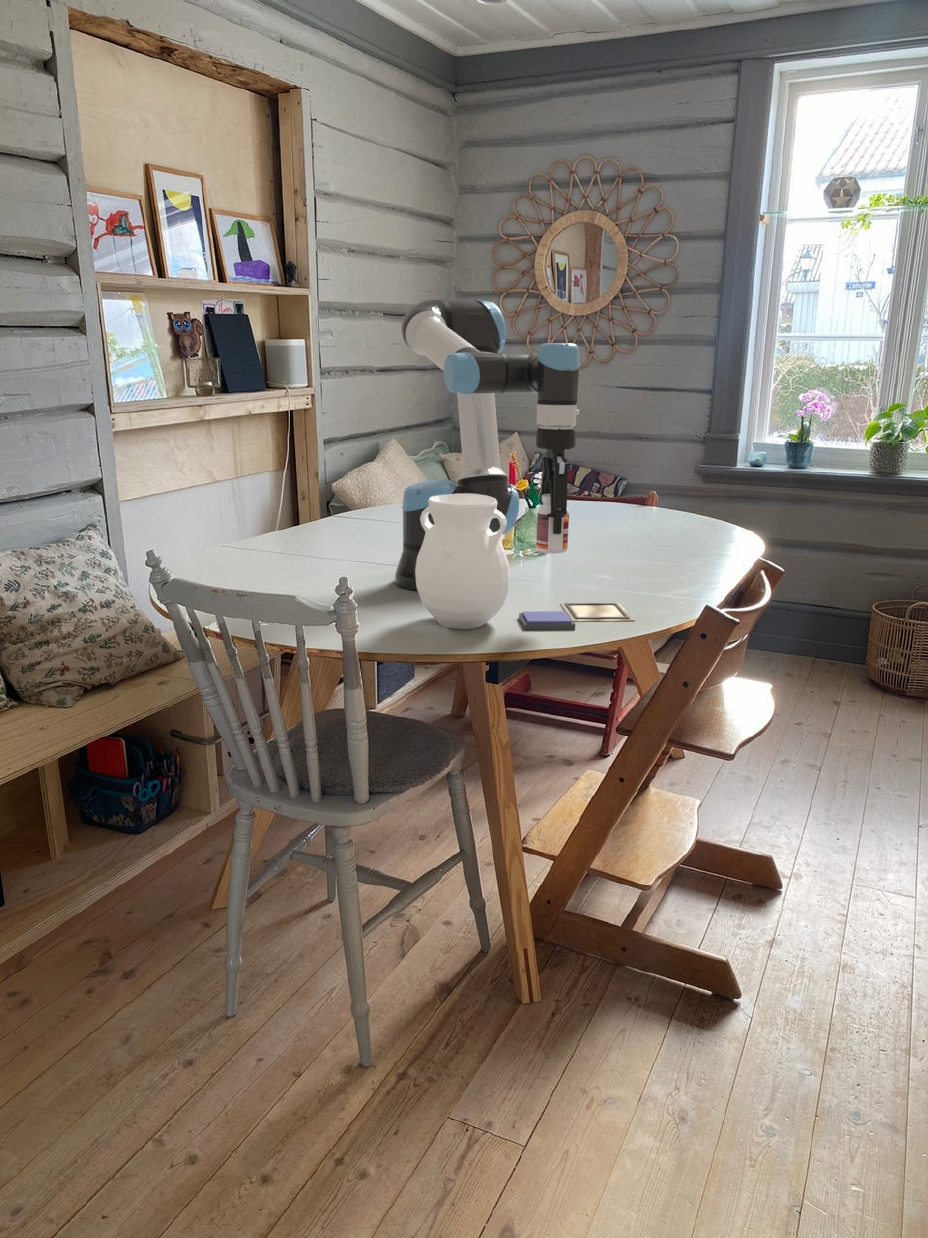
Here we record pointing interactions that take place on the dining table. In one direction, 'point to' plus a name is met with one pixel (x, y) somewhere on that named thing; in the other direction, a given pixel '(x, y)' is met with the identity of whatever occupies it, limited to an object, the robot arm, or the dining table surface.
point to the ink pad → (546, 620)
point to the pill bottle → (544, 527)
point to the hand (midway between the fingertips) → (551, 546)
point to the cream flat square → (596, 612)
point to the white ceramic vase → (462, 561)
